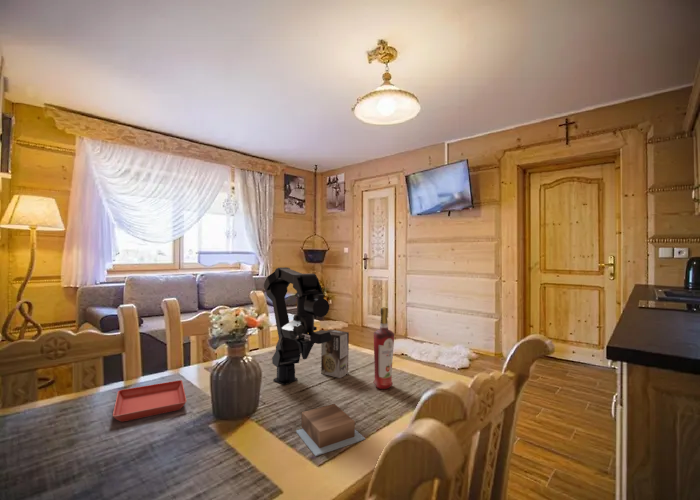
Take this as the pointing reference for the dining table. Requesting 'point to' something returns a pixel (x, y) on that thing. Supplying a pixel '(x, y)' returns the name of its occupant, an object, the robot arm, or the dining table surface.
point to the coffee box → (335, 354)
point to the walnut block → (327, 425)
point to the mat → (319, 451)
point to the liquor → (383, 353)
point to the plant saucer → (149, 400)
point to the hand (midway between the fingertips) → (304, 358)
